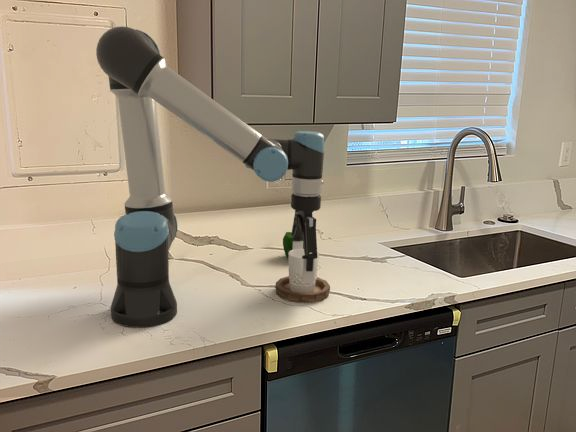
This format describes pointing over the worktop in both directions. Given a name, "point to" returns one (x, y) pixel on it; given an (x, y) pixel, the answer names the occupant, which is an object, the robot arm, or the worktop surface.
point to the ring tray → (317, 295)
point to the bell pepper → (288, 243)
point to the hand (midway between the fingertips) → (302, 273)
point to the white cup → (300, 272)
